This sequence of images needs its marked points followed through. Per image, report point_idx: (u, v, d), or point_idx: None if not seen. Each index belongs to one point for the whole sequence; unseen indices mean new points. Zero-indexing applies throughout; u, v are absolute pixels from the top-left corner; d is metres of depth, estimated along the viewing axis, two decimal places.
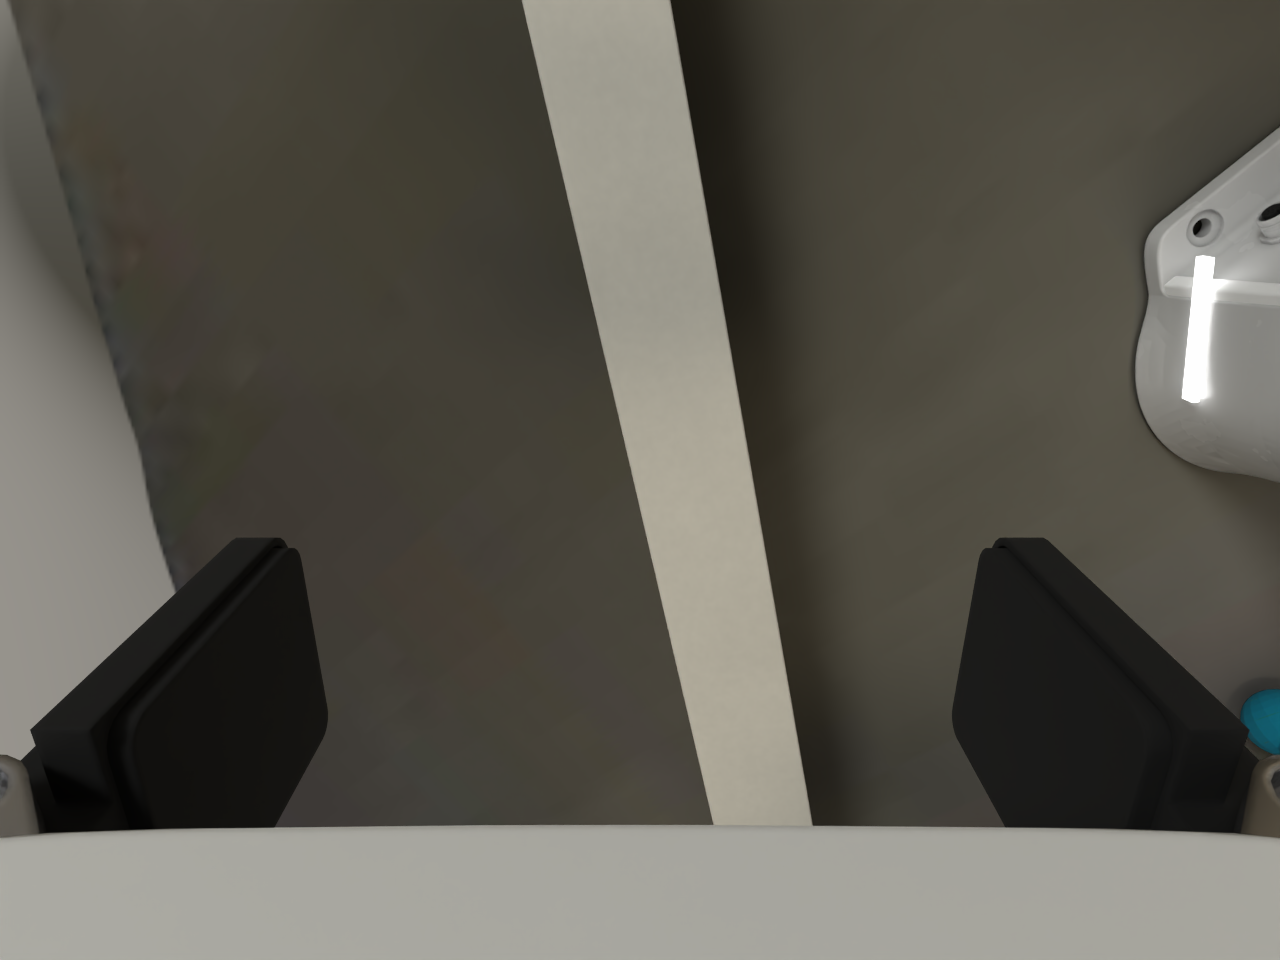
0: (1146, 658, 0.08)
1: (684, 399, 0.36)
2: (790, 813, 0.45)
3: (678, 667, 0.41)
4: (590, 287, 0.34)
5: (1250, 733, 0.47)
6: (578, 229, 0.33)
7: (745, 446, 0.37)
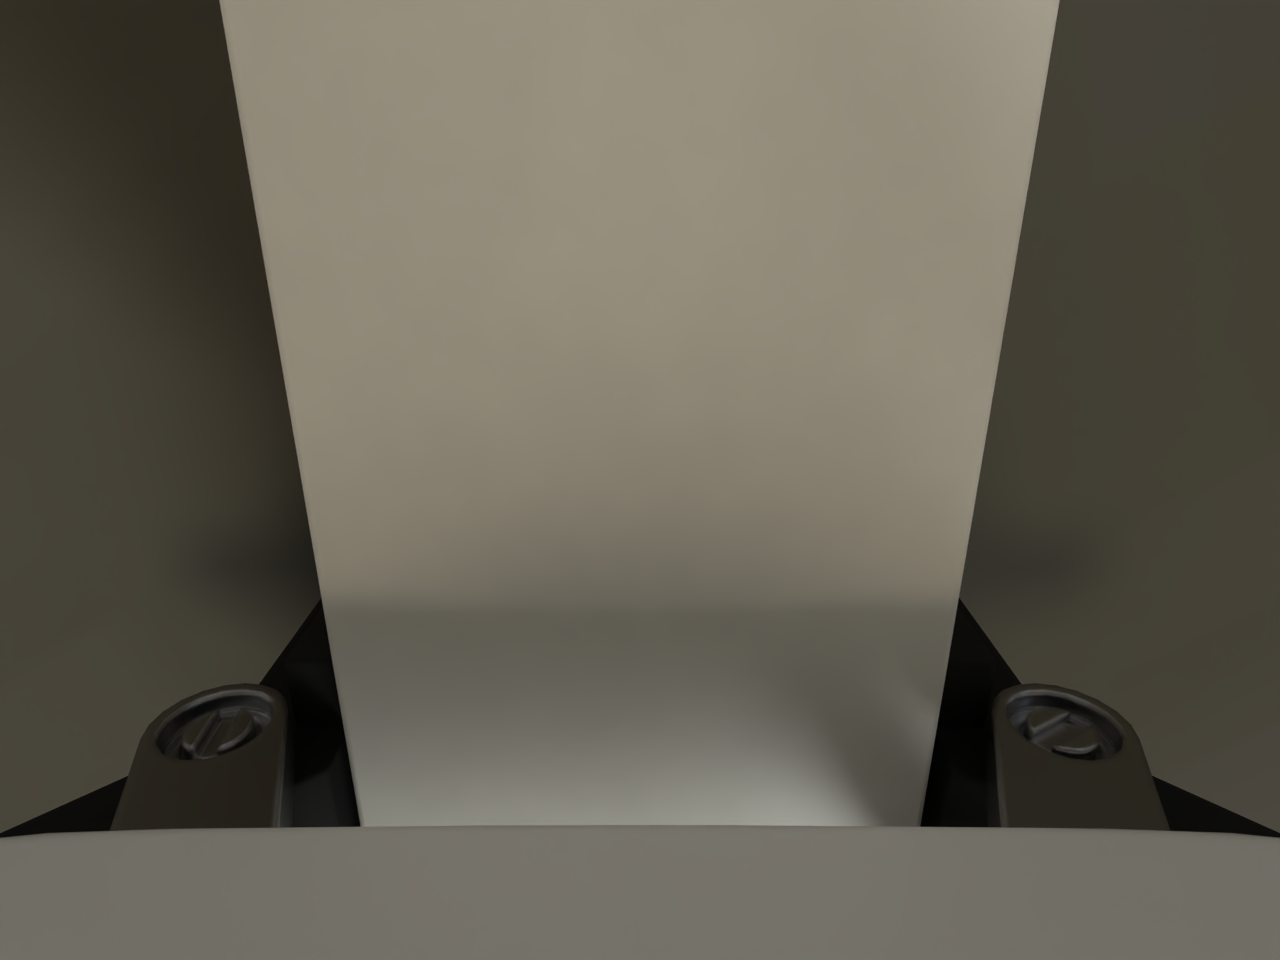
0: None
1: None
2: None
3: None
4: None
5: None
6: None
7: None
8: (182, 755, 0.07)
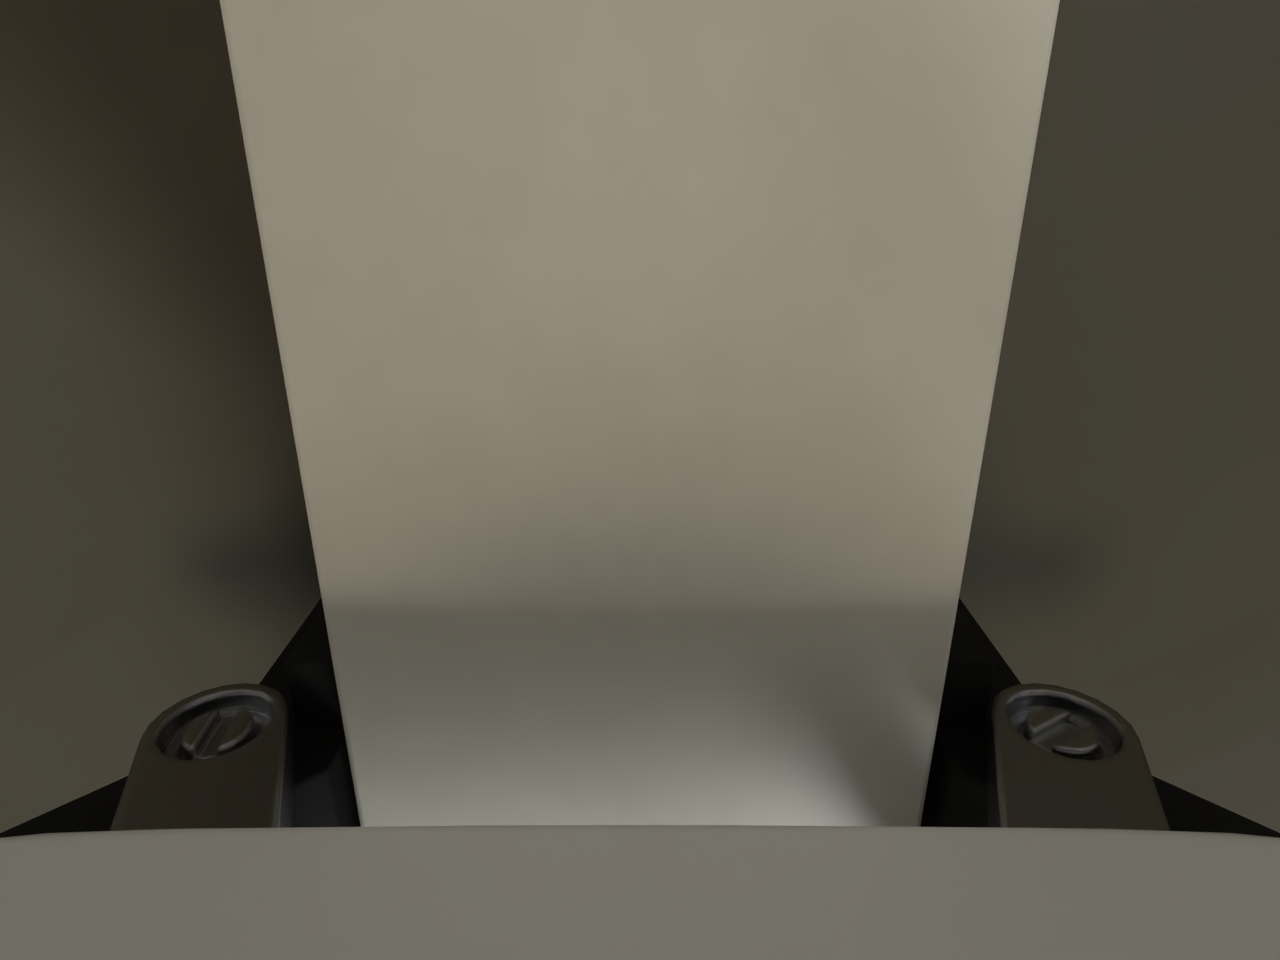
0: None
1: None
2: None
3: None
4: None
5: None
6: None
7: None
8: (182, 755, 0.07)
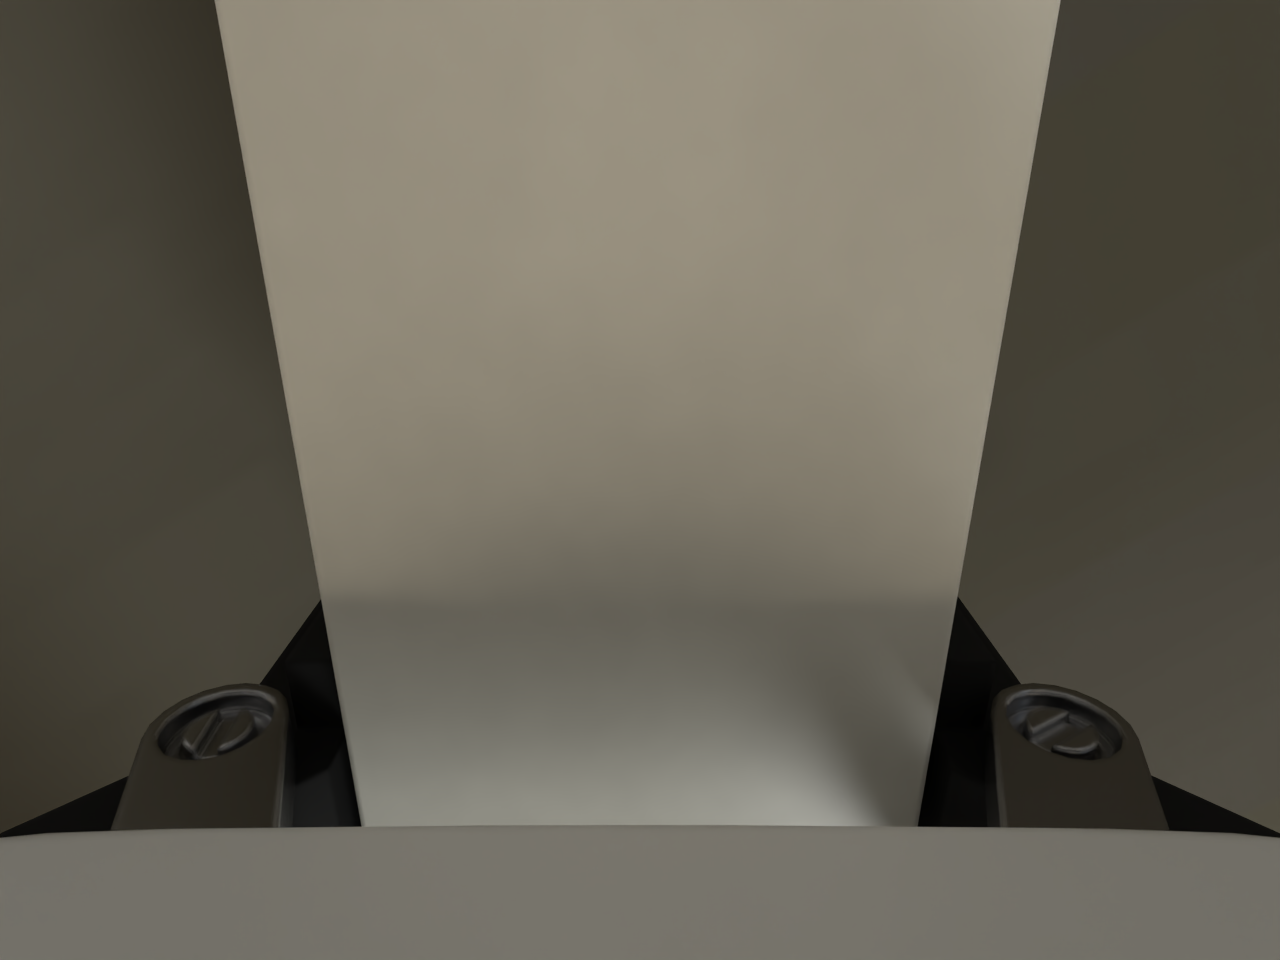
0: None
1: None
2: None
3: None
4: None
5: None
6: None
7: None
8: (183, 755, 0.07)
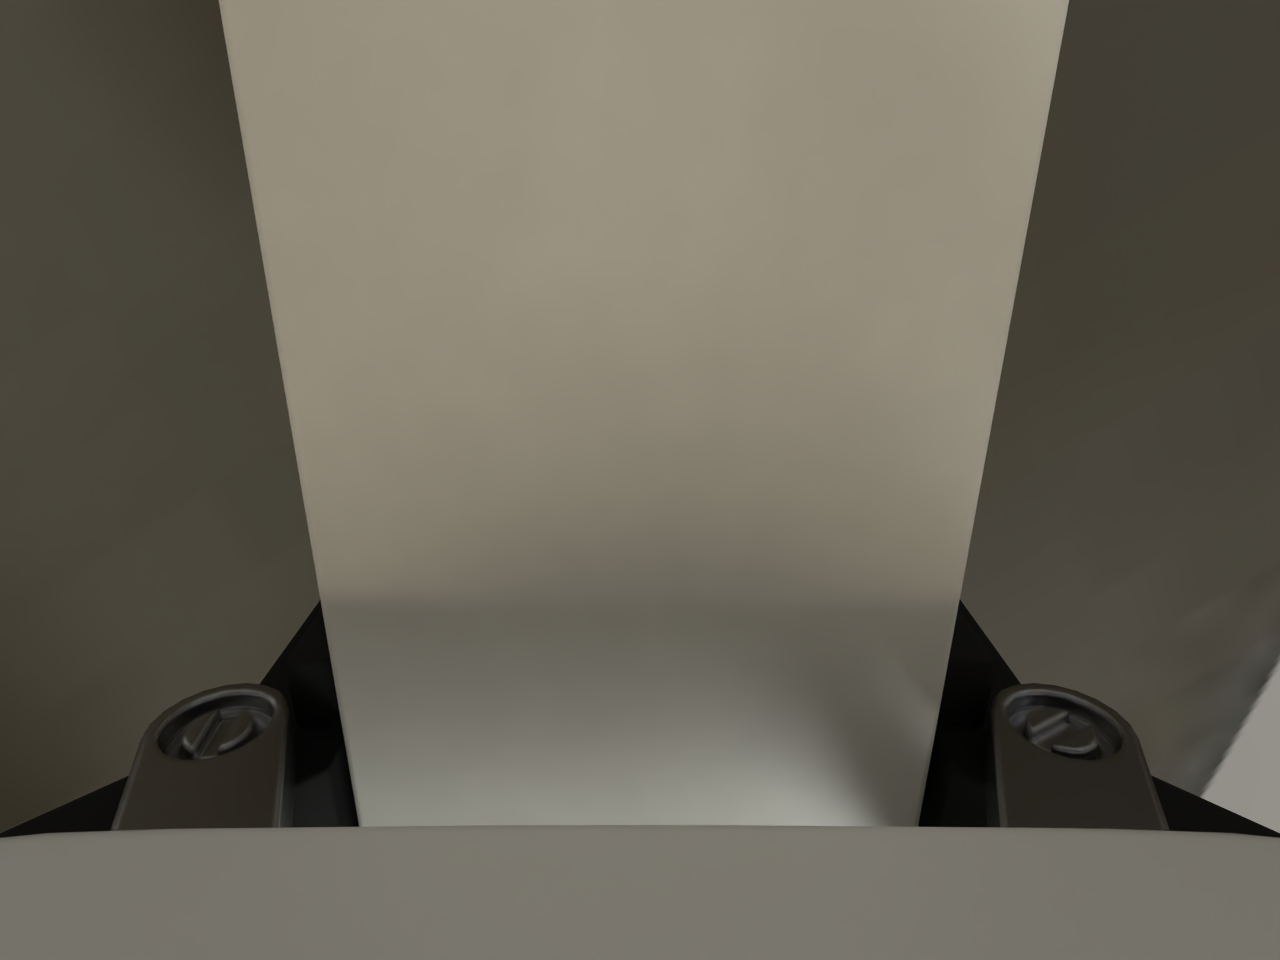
0: None
1: None
2: None
3: None
4: None
5: None
6: None
7: None
8: (182, 755, 0.07)
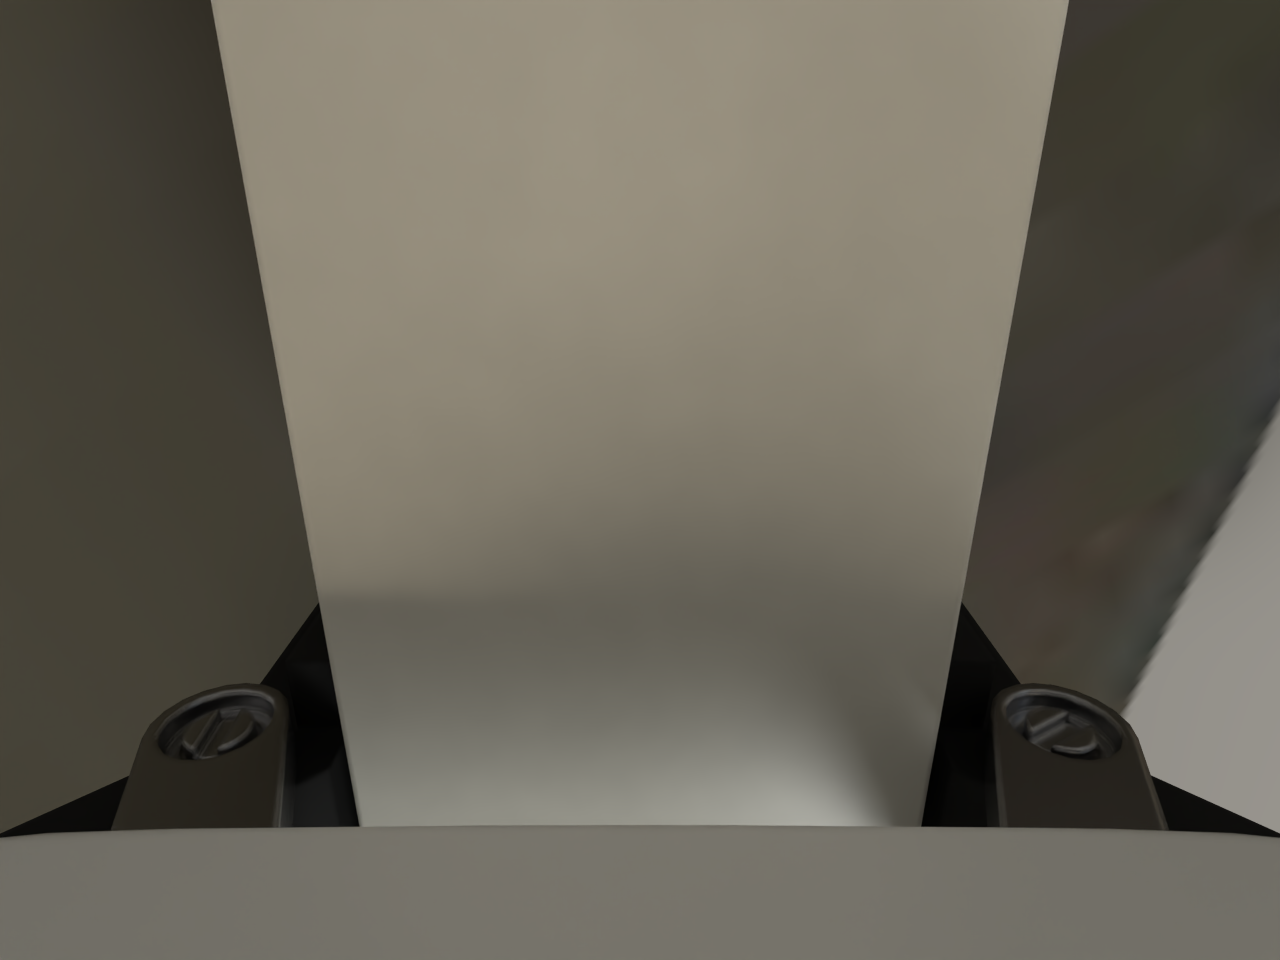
0: None
1: None
2: None
3: None
4: None
5: None
6: None
7: None
8: (183, 755, 0.07)
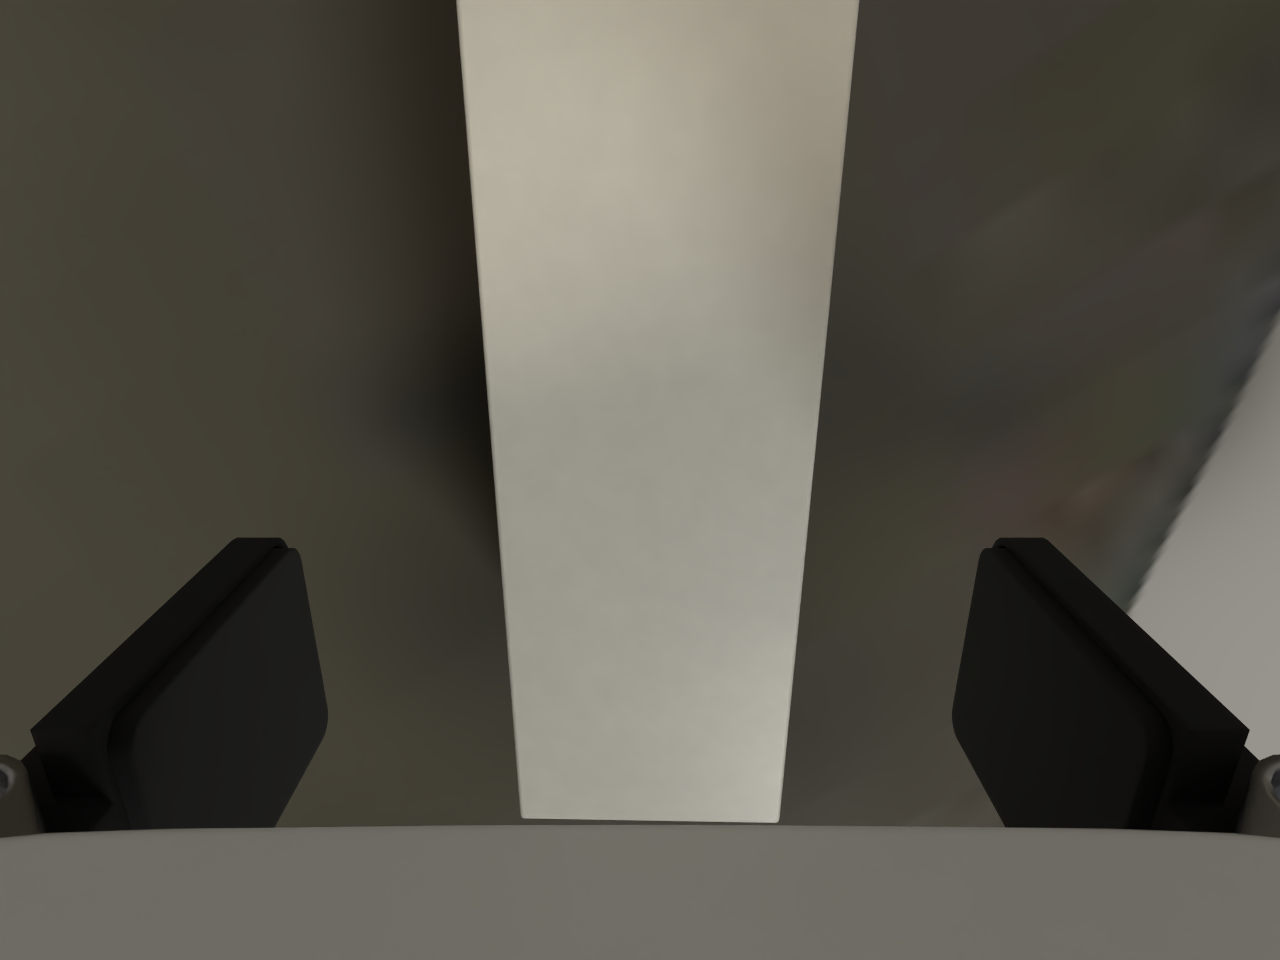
0: (1147, 658, 0.08)
1: None
2: None
3: None
4: None
5: None
6: None
7: None
8: None
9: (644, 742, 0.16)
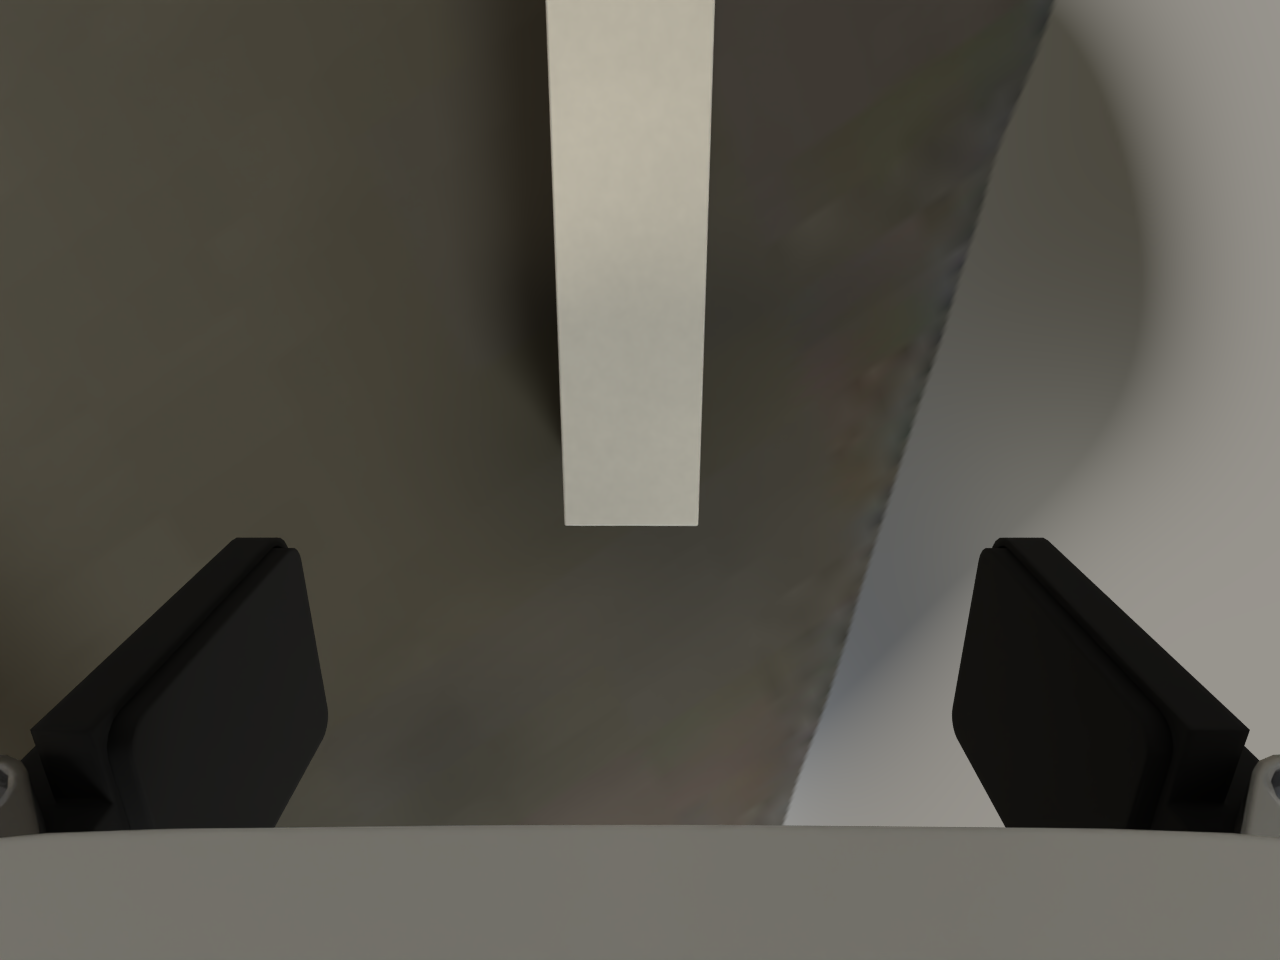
0: (1146, 658, 0.08)
1: None
2: None
3: None
4: (712, 6, 0.26)
5: None
6: (708, 89, 0.27)
7: None
8: None
9: (628, 477, 0.32)
